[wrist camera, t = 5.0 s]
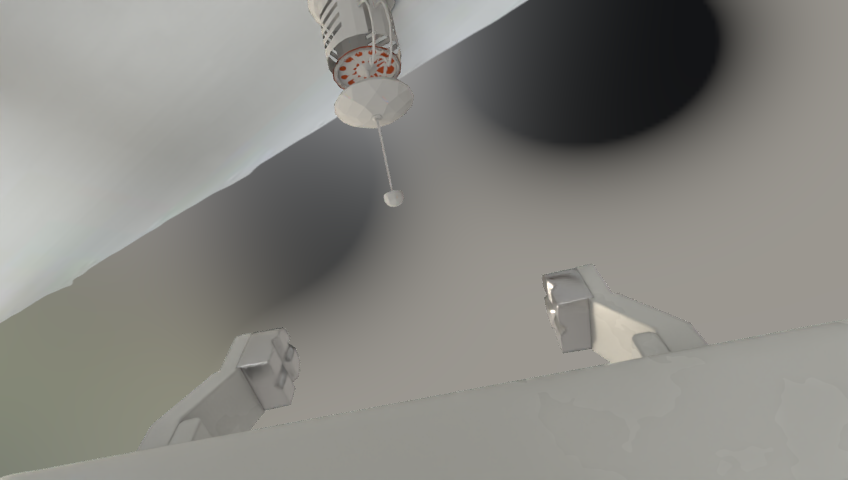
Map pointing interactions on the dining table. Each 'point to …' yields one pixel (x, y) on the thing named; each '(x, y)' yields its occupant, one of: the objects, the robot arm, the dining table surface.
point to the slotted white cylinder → (364, 66)
